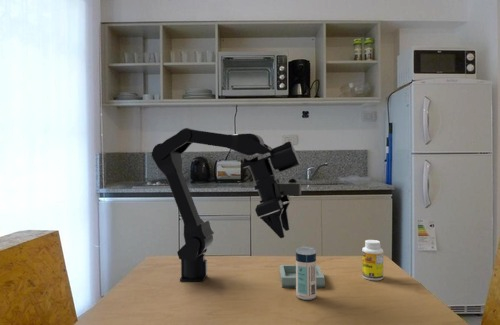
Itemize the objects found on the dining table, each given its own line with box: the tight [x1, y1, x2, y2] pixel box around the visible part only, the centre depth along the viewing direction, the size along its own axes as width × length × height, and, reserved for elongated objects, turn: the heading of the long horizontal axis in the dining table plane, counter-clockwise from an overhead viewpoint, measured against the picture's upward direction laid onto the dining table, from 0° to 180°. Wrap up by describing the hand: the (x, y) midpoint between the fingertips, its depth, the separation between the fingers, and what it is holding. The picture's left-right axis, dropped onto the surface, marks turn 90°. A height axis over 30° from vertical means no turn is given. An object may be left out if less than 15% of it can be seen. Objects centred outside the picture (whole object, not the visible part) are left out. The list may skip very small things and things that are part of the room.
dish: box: [279, 264, 326, 289], centre depth 101 cm, size 11×11×3 cm
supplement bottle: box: [361, 239, 384, 281], centre depth 102 cm, size 6×6×10 cm
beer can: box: [295, 245, 317, 301], centre depth 88 cm, size 5×5×12 cm
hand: (285, 233), depth 97 cm, fingers open, 9 cm apart
